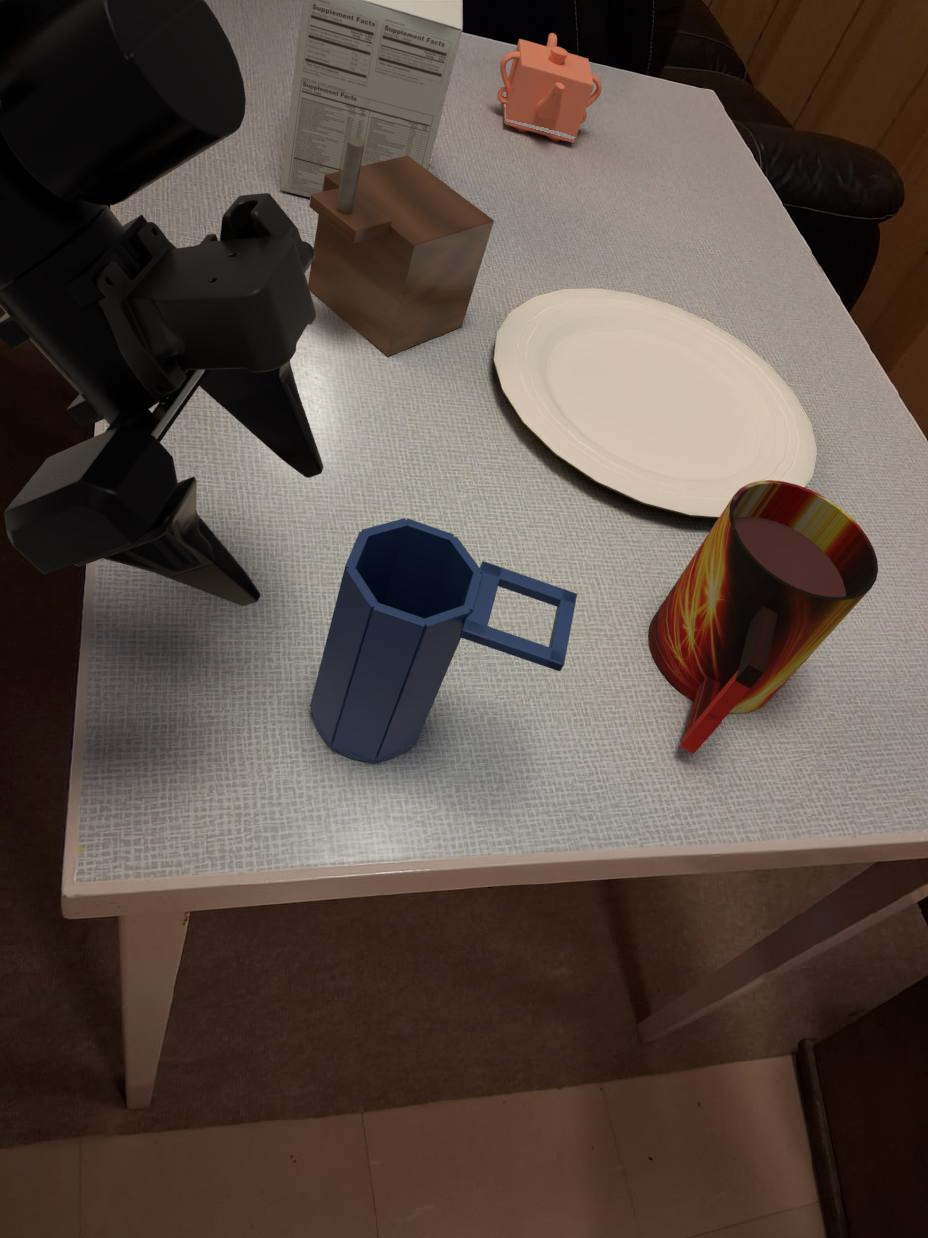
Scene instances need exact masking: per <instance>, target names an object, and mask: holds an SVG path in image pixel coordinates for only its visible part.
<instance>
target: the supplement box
mask: <svg viewBox="0 0 928 1238" xmlns="http://www.w3.org/2000/svg"><path fill="white" fill-rule="evenodd" d="M463 5H464V3H463V0H302V4H301V12H300V21H299V30H298V36H297V44H296V53H295V61H294V68H293V69H294V71H293V79H292V86H291V96H290V103H289V111H288V120H287V127H286V137H285V145H284V153H283V163H282V169H281V177H280V178H281V179H280V187H279V188H280V191H282V192H285V193H289V194H290V193H291V194H294V195H299V196H303V197H305V198H309V199H310V198H311V195H312V194H315V193H320V192H322V190H323V184H324V177H325V174H330V173H334V172H338V171H343V165H344V159H345V153H346V147H347V141H348V139H349V138H352V137H354V138H358V139H361V140H362V141H363V142H364V143H365V147H364V152H363V158H362V163H361V166H364V165H369V164H373V163H377V162H381V161H386V160H390V159H394V158H399V157H403V156H409V157H411V158H412V159H413V160H415V161H416V162H417V163H419V164H420V165H421V166H423V167H424V168H425V169H427V170H428V171H429V168H430V164H431V161H432V156H433V152H434V148H435V143H436V139H437V135H438V131H439V126H440V123H441V118H442V114H443V111H444V107H445V106H444V105H445V102H446V97H447V94H448V89H449V85H450V81H451V77H452V72H453V69H454V65H455V61H456V57H457V53H458V49H459V45H460V40H461V38H462V33H463V28H464V15H463V14H464V13H463V12H464V10H463V9H464V7H463Z"/></svg>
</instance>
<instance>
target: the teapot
mask: <svg viewBox="0 0 928 1238" xmlns="http://www.w3.org/2000/svg"><path fill="white" fill-rule="evenodd" d="M557 45H558V37H557V34H556V33H554V32H550V33H549V34H548V37H547V42H546V45H543V44H539V43H536V42H533V41H530V40H525V39H523V38H519V39H518V42H517V45H516V48H515V50H514V51H510V52H508V53H506V54H505V55H504V56H503V57H502V58H501V60H500V63H499V71H500V72H499V73H500V76H501V79H502V82H503V87H500V88H499V89H498V91H497V96H496V97H497V100H498V102H500V104H501V103H502V106H503V107H502V108H503V118H504V119H503V121H504V125H506V126H509V127H513V128H514V129H515V130H516V131H518V132H521V133H528V132H532V133H534V134H535V133H536V134H539V135H543V136H546V137H547V138H548V139H549V140H552V141H553V142H558V141H559V142H560V140H561V141H565V142H569V143H573V144H575V142H576V139H575V140H573V139H569V138H565V137H562V136H558V135H555V134H551V133H547V132H544V131H540V130H536V129H533V128H529V127H526V126H522V125H518V124H515V123H511V122H507V121H505V107H504V104H506V119H509V120H514V121H517V122H521V123H527V124H531V125H535V126H539V127H544V128H548V129H549V130H554V131H559V132H562V133H565V134H568V135H571V136H574V137H576V138H578V137H577V136H578V133H579V131H580V128H581V125H582V124H583V123H585V121H587V116H588V113H587V112H586V111H587V109H588V108H589V107H590V106H591V105H593V103H595V102H596V101H597V100H598V99H599V97H600V96H601V93H602V82H601V80H600V78H599V77H598V75H597V74H596V73H593V72H592V70H591V65H590V61H589V60H590V59H589V58H587V57H583V56H580V55H577V54H573V53H570V52H568V51H567V50H566V49H565V48H563V47H561V46H557ZM511 60H512V63H511V65H510V69H509V73H508V74H507V63H508V62H509V61H511ZM594 84H595V85H594ZM595 86H596V87H595ZM594 87H595V90H594ZM593 90H594V92H593ZM504 92H506V97H504Z"/></svg>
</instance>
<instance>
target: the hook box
mask: <svg viewBox="0 0 928 1238" xmlns="http://www.w3.org/2000/svg"><path fill="white" fill-rule="evenodd" d="M364 147H365V143H364V142H363V141H362V140H361V139H358V138H354V137H352V138H349V139H348V141H347V147H346V153H345V159H344V165H343V171H338V172H334V173H330V174H325V177H324V184H323V190H322V192H320V193H315V194H312V195H311V198H310V197H309V199H310V200H309V206H308V207H309V209H311V210H312V211H313V212H315V213H317V215H318V217H317V224H316V230H315V237H314V243H313V249H314V250H315V259H314V260H313V262H312V264H311V265H310V267H309V276H308V280H307V284H308V287H309V290H310V293H312V294H313V295H314V296H316V297H317V298H318V299H319V300H320V301H322V302H323V303H324V304H325V305H326V306H328V307H329V308H330V309H331V310H332V311H333V312H334V313H336V314H337V315H338V316H339V317H341V319H342V320H344V321H345V322H346V323H347V324H349V325H350V326H351V327H352V328H353V329H354V330H356V331H357V332H358V333H359V334H360V335H361V336H363V337H364V338H365V339H366V340H367V341H369V342H370V343H371V344H372V345H373V346H375V348H377V349H378V351H380V352H382V354H384V355H385V356H386V357H390V356H392V355H395V354H397V353H400V352H403V351H405V350H407V349H411V348H412V347H415V346H418V345H420V344H423V343H425V342H428V341H430V340H433V339H435V338H437V337H440V336H442V335H445V334H447V333H449V332H453V331H454V330H457V329H460V328H462V327H463V325H464V322H465V319H466V315H467V311H468V308H469V304H470V301H471V298H472V295H473V292H474V288H475V285H476V282H477V278H478V275H479V272H480V269H481V265H482V262H483V259H484V255H485V252H486V248H487V246H488V243H489V239H490V235H491V232H492V229H493V226H494V222H495V220H494V219H493V218H492V217H490V216H489V215H488V214H487V213H485V212H484V211H482V210H481V209H480V208H479V207H477V206H476V205H475V204H473V203H471V202H470V201H469V200H468V199H467V198H465V197H464V196H463V195H461V194H460V193H458V192H457V191H456V190H455V189H453V188H452V187H451V186H450V185H449V184H446V183H445V182H444V181H442V180H441V179H440V178H439V177H437V176H436V175H434V174H433V173H432V172H430V171H429V169H428V170H427V169H425V168H424V167H423V166H421V165H420V164H419V163H417V162H416V161H415V160H413V159H412V158H411V157H409V156H403V157H399V158H394V159H390V160H386V161H381V162H377V163H373V164H369V165H364V166H361V163H362V158H363V152H364Z"/></svg>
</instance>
